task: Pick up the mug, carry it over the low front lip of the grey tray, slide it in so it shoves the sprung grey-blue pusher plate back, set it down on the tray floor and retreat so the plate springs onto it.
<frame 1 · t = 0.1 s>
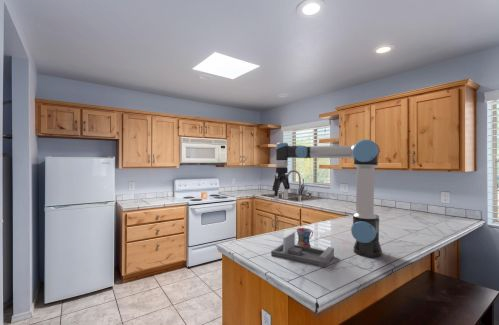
hand: (281, 200, 163), 28 cm above the counter, fingers open, 13 cm apart
grey tray: (302, 256, 142), on the counter
pusher: (294, 244, 145), point 6 cm above the counter, slide at 0.0 cm
mug: (305, 247, 158), on the counter
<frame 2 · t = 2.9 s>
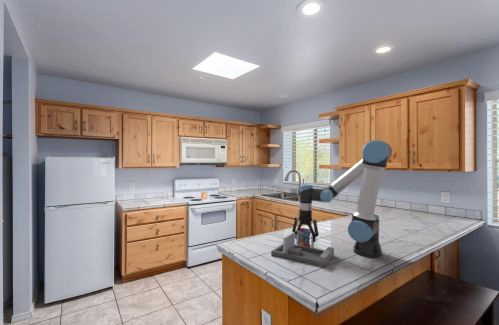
hand: (304, 245, 158), 1 cm above the counter, fingers open, 9 cm apart
mug: (305, 247, 158), on the counter, touching gripper
everything else where it was.
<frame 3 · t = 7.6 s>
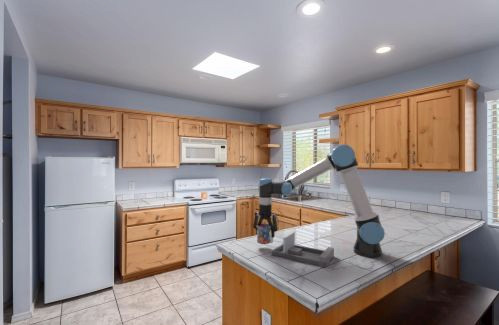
hand: (265, 241, 155), 4 cm above the counter, fingers closed on mug, 8 cm apart
mug: (265, 242, 154), point 3 cm above the counter, touching gripper
everything else where it was.
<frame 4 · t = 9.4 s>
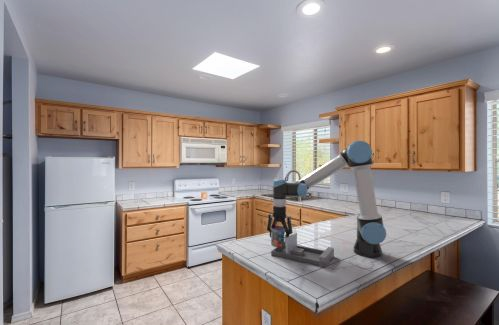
hand: (279, 244, 150), 4 cm above the counter, fingers closed on mug, 8 cm apart
pusher: (296, 244, 144), point 6 cm above the counter, slide at 1.5 cm, touching gripper
mug: (280, 245, 149), point 3 cm above the counter, touching gripper
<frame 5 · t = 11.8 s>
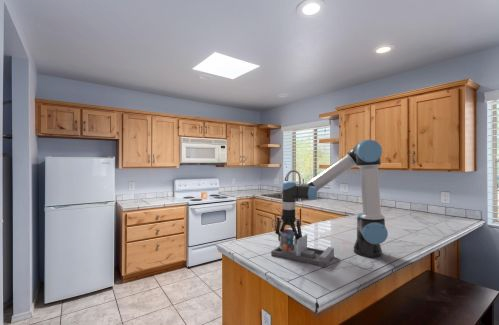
hand: (288, 248, 147), 3 cm above the counter, fingers closed on mug, 8 cm apart
pusher: (307, 247, 141), point 6 cm above the counter, slide at 7.7 cm, touching gripper
mug: (289, 249, 146), point 2 cm above the counter, touching gripper
when the fingers open (3 cm above the counter, at t = 12.1 s): mug drops 2 cm, resting on grey tray.
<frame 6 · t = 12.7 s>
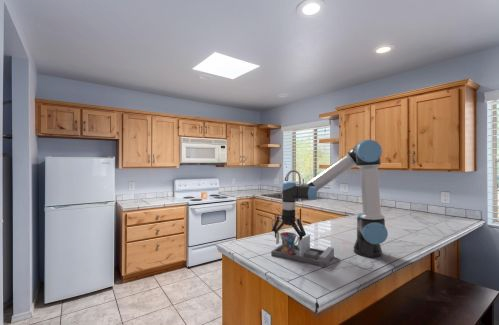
hand: (288, 245, 147), 4 cm above the counter, fingers open, 13 cm apart
pusher: (310, 247, 140), point 6 cm above the counter, slide at 9.4 cm, touching gripper
mug: (289, 252, 146), resting on grey tray
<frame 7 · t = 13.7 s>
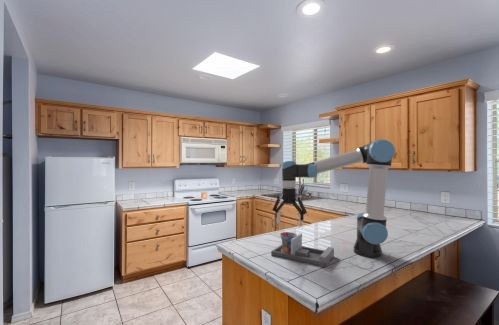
hand: (289, 224, 146), 16 cm above the counter, fingers open, 13 cm apart
pusher: (301, 245, 142), point 6 cm above the counter, slide at 4.5 cm
everything else where it was.
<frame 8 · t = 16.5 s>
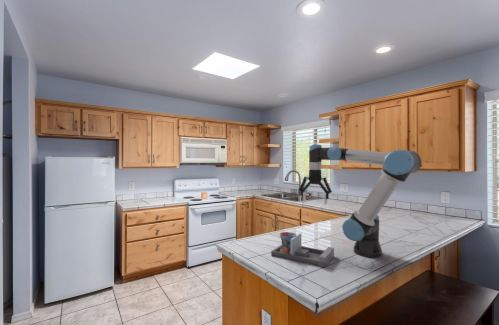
hand: (314, 203, 160), 27 cm above the counter, fingers open, 13 cm apart
pusher: (301, 245, 142), point 6 cm above the counter, slide at 4.2 cm, touching mug
mug: (289, 252, 146), resting on grey tray, touching pusher
at the end: mug inside the target area (0.0 cm from its centre), resting on grey tray; mug tilted 0°; pusher slide at 4.2 cm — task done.
